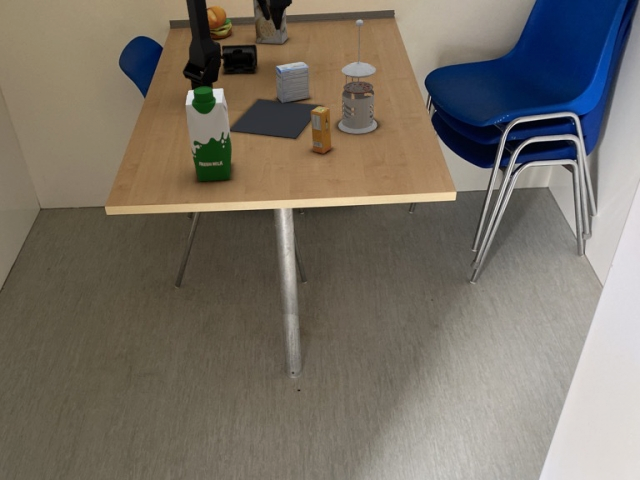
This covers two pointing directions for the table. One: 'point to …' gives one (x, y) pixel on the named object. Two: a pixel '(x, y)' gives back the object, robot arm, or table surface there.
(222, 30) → the cheeseburger
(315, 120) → the supplement box
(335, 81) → the table surface
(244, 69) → the end cap
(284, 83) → the medicine box
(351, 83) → the french press
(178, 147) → the table surface
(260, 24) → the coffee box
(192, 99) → the milk carton
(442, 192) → the table surface
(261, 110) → the mat
